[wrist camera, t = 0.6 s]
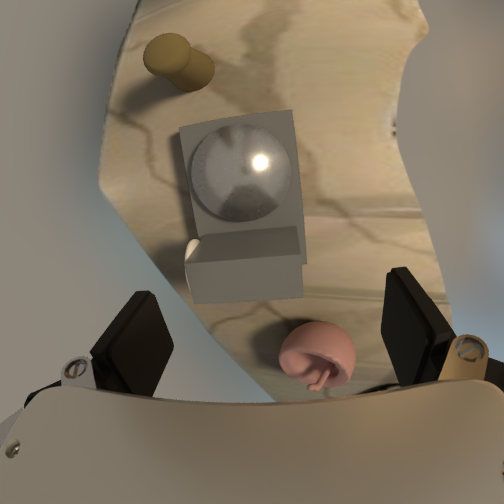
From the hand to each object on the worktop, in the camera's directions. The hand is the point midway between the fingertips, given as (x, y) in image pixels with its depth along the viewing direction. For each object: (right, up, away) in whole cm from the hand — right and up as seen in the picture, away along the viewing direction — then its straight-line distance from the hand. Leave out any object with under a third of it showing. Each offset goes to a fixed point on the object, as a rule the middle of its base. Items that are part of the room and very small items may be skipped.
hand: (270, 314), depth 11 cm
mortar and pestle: (+10, -12, +35) cm, 38 cm away
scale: (-1, +11, +27) cm, 29 cm away
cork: (-9, +27, +21) cm, 35 cm away
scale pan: (-2, +12, +23) cm, 26 cm away
